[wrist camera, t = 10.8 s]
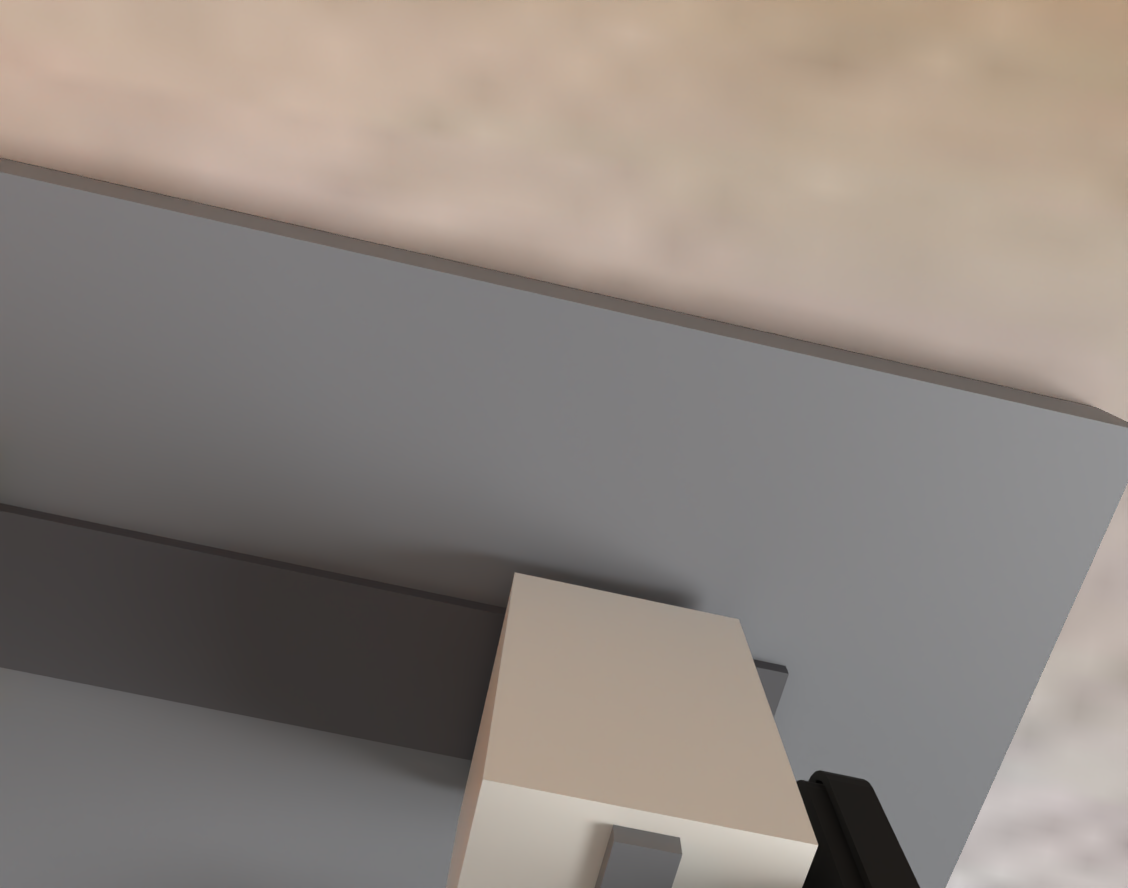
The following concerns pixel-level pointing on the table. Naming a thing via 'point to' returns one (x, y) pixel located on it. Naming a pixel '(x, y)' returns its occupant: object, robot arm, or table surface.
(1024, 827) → the table surface
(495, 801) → the slider
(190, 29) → the table surface
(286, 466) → the switch unit
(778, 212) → the table surface
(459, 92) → the table surface
